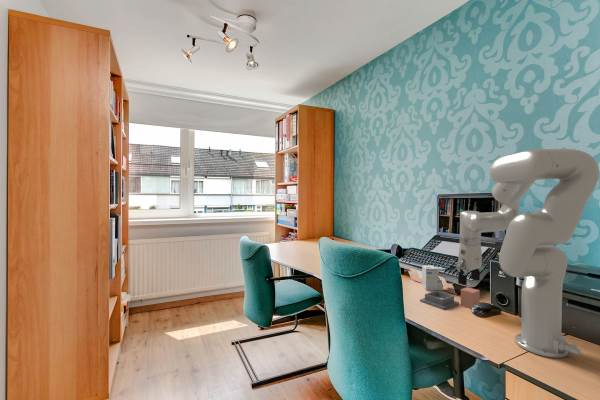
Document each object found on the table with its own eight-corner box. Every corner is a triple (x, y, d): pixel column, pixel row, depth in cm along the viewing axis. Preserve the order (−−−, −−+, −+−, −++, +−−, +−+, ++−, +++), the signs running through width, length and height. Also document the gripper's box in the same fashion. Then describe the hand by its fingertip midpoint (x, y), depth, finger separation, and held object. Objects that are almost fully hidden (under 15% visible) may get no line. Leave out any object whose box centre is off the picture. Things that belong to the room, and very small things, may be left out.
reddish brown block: (479, 307, 121) (479, 290, 121) (473, 310, 119) (473, 292, 118) (467, 303, 125) (467, 287, 125) (460, 306, 123) (460, 289, 123)
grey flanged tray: (459, 303, 125) (459, 296, 125) (443, 309, 119) (443, 301, 119) (435, 296, 134) (435, 289, 134) (419, 301, 128) (419, 293, 128)
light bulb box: (443, 286, 148) (443, 264, 147) (449, 290, 141) (449, 268, 140) (421, 286, 149) (421, 264, 148) (425, 290, 142) (425, 268, 142)
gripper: (467, 245, 114) (466, 289, 115) (490, 240, 123) (489, 280, 124) (448, 242, 120) (448, 283, 121) (472, 237, 129) (471, 275, 130)
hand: (468, 281), depth 122 cm, fingers open, 9 cm apart
